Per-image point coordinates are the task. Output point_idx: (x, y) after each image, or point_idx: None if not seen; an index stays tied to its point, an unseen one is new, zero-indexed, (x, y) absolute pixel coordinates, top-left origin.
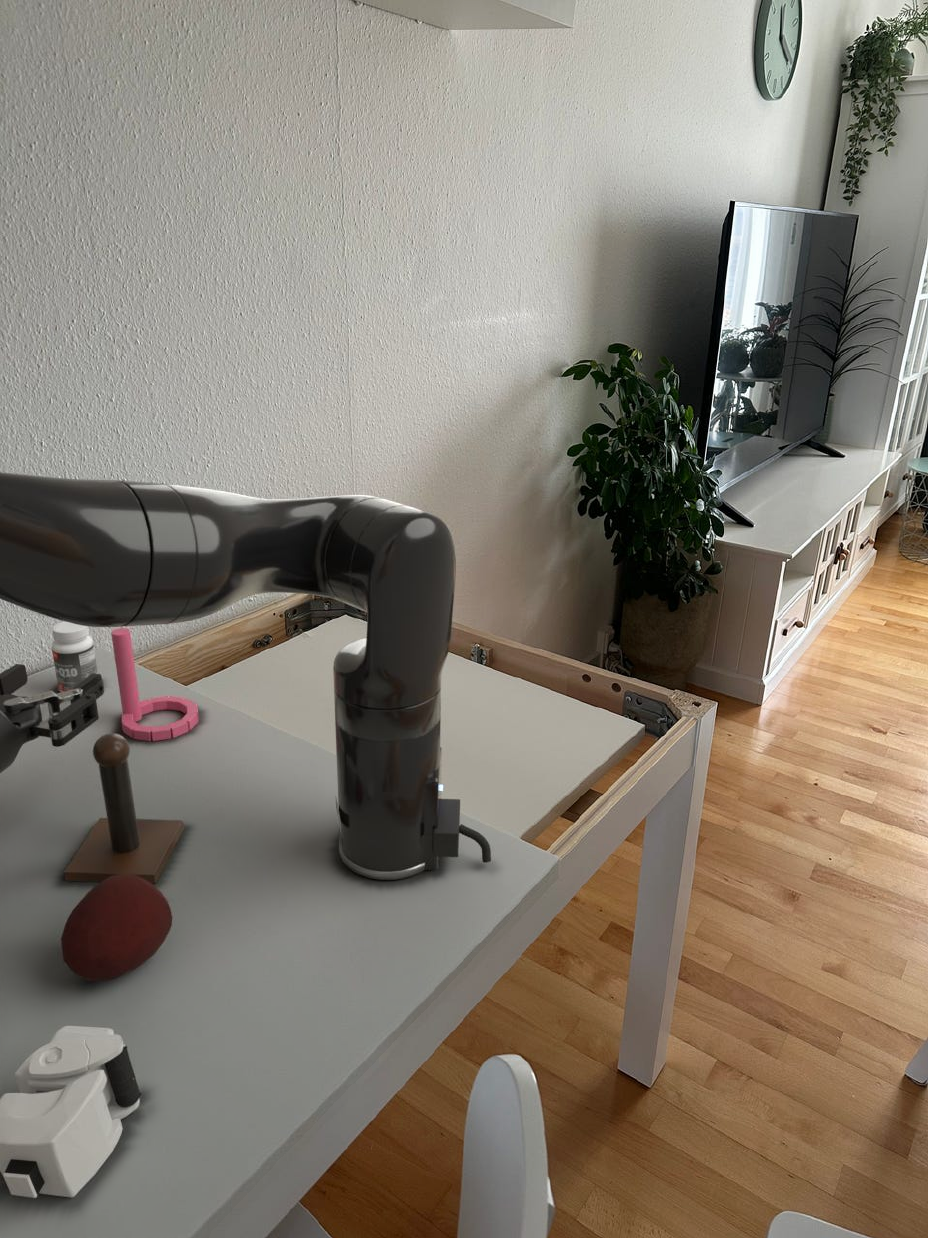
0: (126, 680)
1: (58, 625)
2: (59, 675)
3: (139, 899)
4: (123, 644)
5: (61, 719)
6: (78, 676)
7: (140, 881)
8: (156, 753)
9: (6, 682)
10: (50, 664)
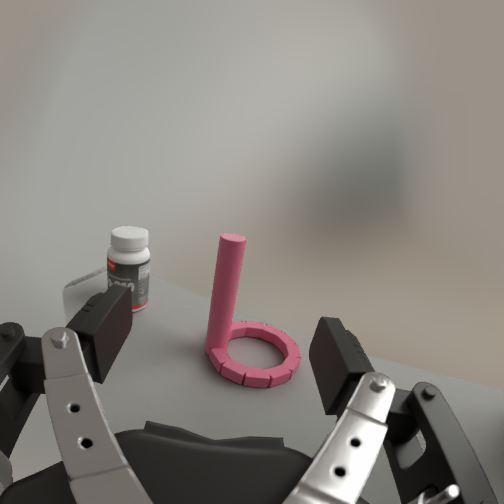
0: (228, 307)
1: (116, 230)
2: None
3: None
4: (239, 256)
5: (490, 495)
6: (135, 292)
7: None
8: (291, 407)
9: (103, 340)
10: (92, 273)
